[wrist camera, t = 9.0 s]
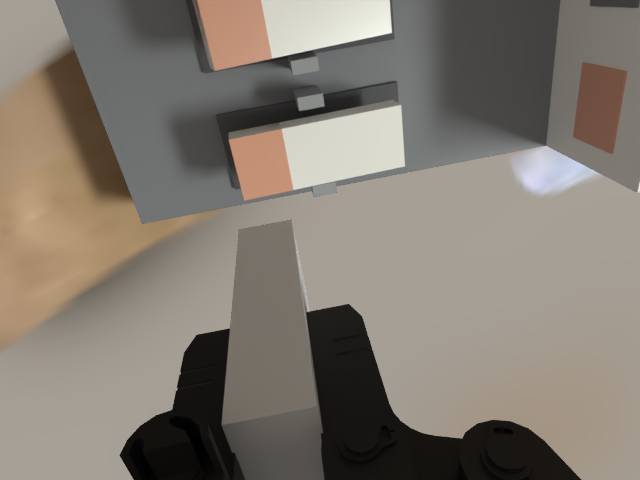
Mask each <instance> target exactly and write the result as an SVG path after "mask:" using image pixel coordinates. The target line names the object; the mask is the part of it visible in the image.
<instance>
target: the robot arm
mask: <svg viewBox="0 0 640 480" xmlns="http://www.w3.org/2000/svg"><path fill="white" fill-rule="evenodd" d="M180 372H181V375H180V376H179V381H178V385H177V388H178V390H177V391H176V395H175V399H174V404H173V409H172V410H171V411H168V412H165V413H162V414H159V415H156V416H155V417H153V418H152V419H150V420H149V421H147V422H146V423H144V424H143V425H141V426H140V427H139V428H138V429H137V430H136V431H135V432H134V433H133V434H132V436H131V437H130V438H129V439H128V440H127V442H126V444H125V446H124V448H123V450H122V452H121V454H120V457H121V458H122V460H123V462H124V464H125V465H126V467H127V469H128V470H129V472H130V474H131V476H132V477H133V479H134V480H581V479H580V478H579V477H578V476H577V475H576V474H575V473H574V472H573V471H572V470H571V468H570V467H569V466H568V465H566V463H565V462H564V461H563V460H562V459H561V458H560V457H559V456H558V455H557V454H556V453H555V452H554V451H553V450H552V449H551V447H550V446H548V444H547V443H546V442H545V441H544V440H543V439H541V438H540V437H539V436H537V435H536V434H535V433H533V432H532V431H531V430H529V429H528V428H526V427H523V426H521V425H518V424H516V423H513V422H510V421H499V420H491V421H487V422H483V423H478V424H476V425H475V426H474V427H472V428H471V429H470V430H468V431H467V432H465V434H464V437H463V439H460V438H450V437H441V436H433V435H428V434H423V433H420V432H418V431H416V430H414V429H411V428H409V427H408V426H407V425H405V424H404V423H402V422H401V421H400V420H399V419H398V417H397V416H396V415H395V414H394V413H393V411H392V409H391V406H390V404H389V401H388V398H387V395H386V392H385V389H384V385H383V382H382V379H381V376H380V373H379V369H378V366H377V363H376V360H375V357H374V354H373V351H372V347H371V344H370V341H369V337H368V335H367V331H366V328H365V325H364V321H363V318H362V316H361V315H360V314H359V313H358V312H357V311H356V310H354V309H353V308H352V307H351V306H350V305H349V304H347V305H341V306H336V307H332V308H326V309H321V310H316V311H309V305H308V298H307V293H306V288H305V283H304V278H303V273H302V268H301V263H300V258H299V253H298V248H297V244H296V239H295V234H294V229H293V224H292V220H287V221H282V222H276V223H271V224H266V225H260V226H255V227H250V228H244V229H239V234H238V245H237V257H236V268H235V280H234V290H233V301H232V312H231V324H230V329H225V330H220V331H215V332H210V333H204V334H199V335H196V337H195V338H194V339H193V341H192V342H191V344H190V345H189V347H188V348H187V350H186V351H185V352H184V356H183V362H182V366H181V371H180Z"/></svg>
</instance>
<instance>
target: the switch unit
mask: <svg viewBox="0 0 640 480" xmlns="http://www.w3.org/2000/svg"><path fill="white" fill-rule="evenodd" d="M55 1H56V4H57V6H58V9H59V11H60V14H61V16H62V19H63V22H64V24H65V27H66V29H67V32H68V35H69V37H70V40H71V42H72V45H73V47H74V50H75V53H76V55H77V58H78V60H79V63H80V65H81V68H82V71H83V73H84V76H85V78H86V81H87V83H88V86H89V89H90V91H91V94H92V96H93V99H94V101H95V104H96V107H97V109H98V112H99V114H100V117H101V119H102V122H103V125H104V127H105V130H106V132H107V135H108V137H109V140H110V143H111V145H112V148H113V150H114V153H115V155H116V158H117V161H118V163H119V166H120V168H121V171H122V173H123V176H124V179H125V181H126V184H127V186H128V189H129V191H130V194H131V197H132V199H133V202H134V204H135V207H136V209H137V212H138V215H139V217H140V220H141V222H142V224H144V223H149V222H155V221H160V220H165V219H170V218H175V217H180V216H185V215H191V214H196V213H201V212H206V211H211V210H216V209H222V208H227V207H232V206H237V205H242V204H247V203H252V202H257V201H263V200H268V199H273V198H278V197H283V196H288V195H294V194H299V193H304V192H309V191H312V192H313V195H314V197H317V196H322V195H327V194H333V193H337V189H336V186H340V185H345V184H350V183H356V182H361V181H366V180H371V179H376V178H381V177H387V176H392V175H397V174H402V173H407V172H412V171H417V170H423V169H427V168H433V167H438V166H443V165H448V164H453V163H459V162H464V161H469V160H474V159H479V158H484V157H490V156H495V155H500V154H505V153H510V152H515V151H521V150H526V149H531V148H536V147H541V146H548V147H550V148H552V149H554V150H556V151H558V152H560V153H562V154H563V155H565V156H567V157H569V158H571V159H573V160H575V161H577V162H579V163H581V164H583V165H585V166H587V167H589V168H590V169H592V170H594V171H596V172H598V173H600V174H602V175H604V176H606V177H608V178H610V179H612V180H614V181H616V182H617V183H619V184H621V185H623V186H625V187H627V188H629V189H631V190H633V191H635V192H637V193H639V192H640V0H390V12H391V27H392V33H389V34H384V35H380V36H375V37H370V38H366V39H361V40H356V41H352V42H347V43H342V44H338V45H333V46H328V47H324V48H319V49H314V50H310V51H305V52H300V53H296V54H291V55H286V56H282V57H277V58H272V59H268V60H263V61H259V62H254V63H250V64H245V65H240V66H236V67H231V68H226V69H222V70H217V71H214V70H213V69H211V68H210V67H209V63H208V59H207V55H206V51H205V47H204V43H203V39H202V35H201V31H200V28H199V24H198V20H197V16H196V12H195V8H194V4H193V0H55ZM390 100H394V101H396V102H397V103H399V104H400V105H401V110H402V126H403V142H404V158H405V166H404V167H400V168H395V169H390V170H385V171H381V172H376V173H371V174H367V175H362V176H357V177H353V178H348V179H343V180H338V181H334V182H329V183H324V184H320V185H315V186H310V187H305V188H301V189H296V190H292V191H287V192H283V193H278V194H273V195H269V196H264V197H259V198H255V199H250V200H245V201H244V198H243V194H242V190H241V186H240V182H239V178H238V174H237V170H236V167H235V163H234V159H233V155H232V151H231V147H230V143H229V132H233V131H238V130H243V129H248V128H253V127H258V126H264V125H269V124H274V123H279V122H284V121H289V120H294V119H299V118H304V117H309V116H314V115H319V114H324V113H329V112H334V111H339V110H344V109H349V108H354V107H359V106H364V105H369V104H374V103H380V102H385V101H390Z"/></svg>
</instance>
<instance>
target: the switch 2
mask: <svg viewBox="0 0 640 480" xmlns="http://www.w3.org/2000/svg"><path fill="white" fill-rule="evenodd" d="M229 143H230V147H231V151H232V155H233V159H234V163H235V167H236V170H237V174H238V178H239V182H240V186H241V190H242V194H243V198H244V201H245V200H250V199H255V198H259V197H264V196H269V195H273V194H278V193H283V192H287V191H292V190H296V189H301V188H305V187H310V186H315V185H320V184H324V183H329V182H334V181H338V180H343V179H348V178H353V177H357V176H362V175H367V174H371V173H376V172H381V171H385V170H390V169H395V168H400V167H404V166H405V158H404V142H403V126H402V110H401V105H400V104H399V103H397V102H396V101H394V100H390V101H385V102H380V103H374V104H369V105H364V106H359V107H354V108H349V109H344V110H339V111H334V112H329V113H324V114H319V115H314V116H309V117H304V118H299V119H294V120H289V121H284V122H279V123H274V124H269V125H264V126H258V127H253V128H248V129H243V130H238V131H233V132H229Z"/></svg>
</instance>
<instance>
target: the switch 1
mask: <svg viewBox="0 0 640 480" xmlns="http://www.w3.org/2000/svg"><path fill="white" fill-rule="evenodd" d="M193 4H194V8H195V12H196V16H197V20H198V24H199V28H200V31H201V35H202V39H203V43H204V47H205V51H206V55H207V59H208V63H209V67H210V68H211V69H213V70H214V71H217V70H222V69H226V68H231V67H236V66H240V65H245V64H250V63H254V62H259V61H263V60H268V59H272V58H277V57H282V56H286V55H291V54H296V53H300V52H305V51H310V50H314V49H319V48H324V47H328V46H333V45H338V44H342V43H347V42H352V41H356V40H361V39H366V38H370V37H375V36H380V35H384V34H389V33H392V27H391V12H390V0H193Z"/></svg>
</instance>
